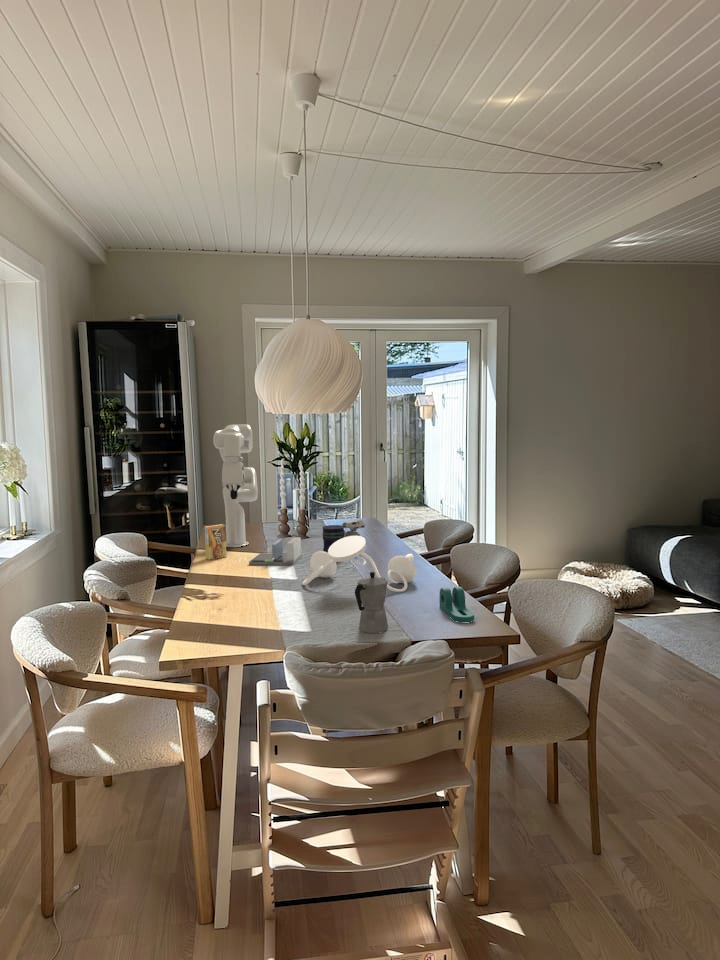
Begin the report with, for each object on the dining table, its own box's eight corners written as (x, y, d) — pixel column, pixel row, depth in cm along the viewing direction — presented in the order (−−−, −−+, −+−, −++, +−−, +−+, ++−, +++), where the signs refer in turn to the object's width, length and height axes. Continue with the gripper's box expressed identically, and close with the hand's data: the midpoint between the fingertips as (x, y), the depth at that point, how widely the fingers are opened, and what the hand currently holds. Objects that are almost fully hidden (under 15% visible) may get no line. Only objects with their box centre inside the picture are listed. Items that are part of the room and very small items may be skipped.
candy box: (222, 555, 323) (221, 524, 322) (227, 557, 320) (225, 525, 318) (205, 558, 318) (204, 526, 316) (209, 560, 314) (208, 527, 313)
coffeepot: (373, 620, 220) (372, 565, 218) (397, 625, 214) (396, 569, 212) (344, 634, 208) (342, 576, 206) (369, 639, 202) (368, 580, 200)
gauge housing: (260, 556, 320) (259, 536, 319) (302, 556, 318) (301, 536, 317) (249, 565, 303) (248, 544, 302) (293, 565, 300) (292, 544, 299)
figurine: (368, 552, 323) (368, 521, 321) (344, 554, 321) (344, 522, 319) (364, 548, 332) (363, 518, 330) (341, 550, 330) (340, 519, 328)
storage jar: (333, 562, 304) (332, 529, 302) (318, 559, 310) (317, 527, 309) (349, 558, 311) (348, 526, 309) (334, 556, 317) (333, 524, 316)
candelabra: (396, 560, 239) (423, 521, 272) (281, 554, 254) (319, 518, 288) (401, 612, 245) (426, 568, 278) (288, 603, 260) (325, 562, 294)
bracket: (439, 608, 232) (439, 585, 231) (458, 607, 233) (458, 584, 233) (457, 624, 215) (456, 600, 214) (477, 623, 216) (477, 598, 215)
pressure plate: (279, 553, 316) (278, 539, 315) (282, 553, 316) (282, 539, 315) (271, 560, 302) (270, 545, 301) (274, 560, 301) (274, 545, 301)
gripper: (250, 459, 321) (251, 497, 323) (219, 459, 323) (221, 498, 325) (245, 460, 314) (247, 500, 316) (214, 460, 316) (216, 500, 318)
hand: (234, 498), depth 320 cm, fingers closed
